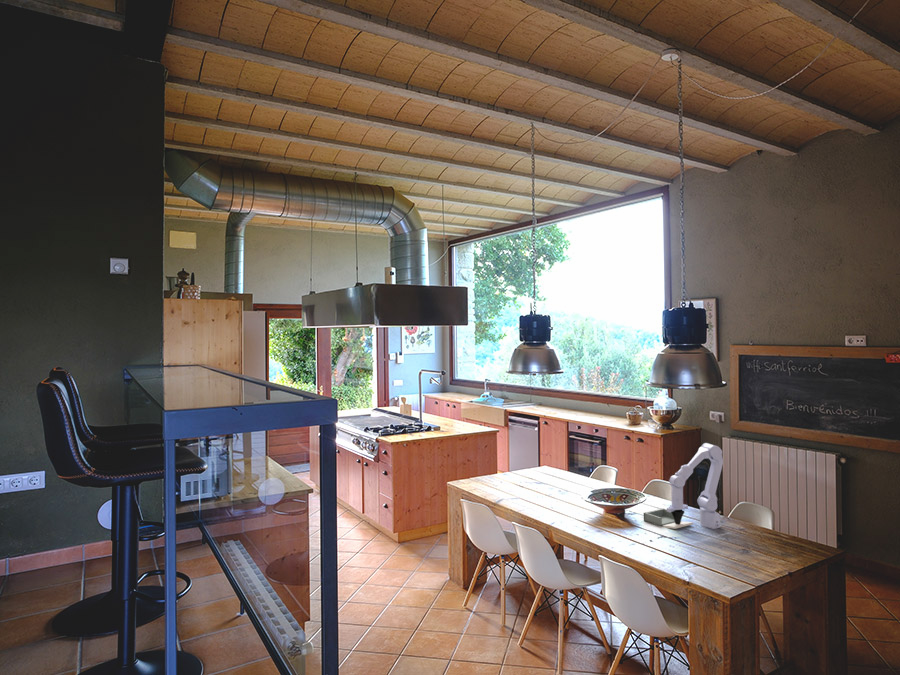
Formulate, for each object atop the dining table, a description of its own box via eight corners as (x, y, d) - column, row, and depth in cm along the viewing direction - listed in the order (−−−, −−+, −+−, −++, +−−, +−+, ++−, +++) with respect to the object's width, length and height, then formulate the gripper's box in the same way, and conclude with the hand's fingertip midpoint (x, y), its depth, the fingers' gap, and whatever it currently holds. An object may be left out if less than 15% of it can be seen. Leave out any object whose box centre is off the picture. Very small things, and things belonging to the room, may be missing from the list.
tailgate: (693, 524, 289) (692, 522, 289) (675, 528, 282) (675, 526, 283) (679, 523, 297) (679, 521, 297) (662, 527, 290) (662, 525, 290)
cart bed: (680, 522, 297) (680, 513, 298) (660, 527, 290) (660, 518, 290) (663, 517, 307) (663, 508, 307) (643, 521, 299) (643, 512, 300)
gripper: (679, 494, 297) (680, 519, 296) (661, 498, 290) (662, 524, 289) (691, 497, 291) (691, 523, 290) (672, 501, 283) (673, 527, 283)
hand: (677, 523), depth 289 cm, fingers closed, pressing on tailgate
